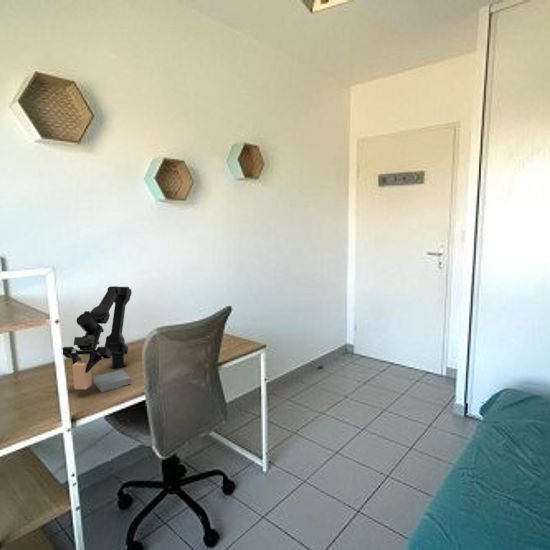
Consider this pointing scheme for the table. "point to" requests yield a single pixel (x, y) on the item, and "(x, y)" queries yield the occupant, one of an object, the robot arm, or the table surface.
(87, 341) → the robot arm
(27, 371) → the table surface
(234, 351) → the table surface
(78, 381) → the brick
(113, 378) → the base block
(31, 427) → the table surface
